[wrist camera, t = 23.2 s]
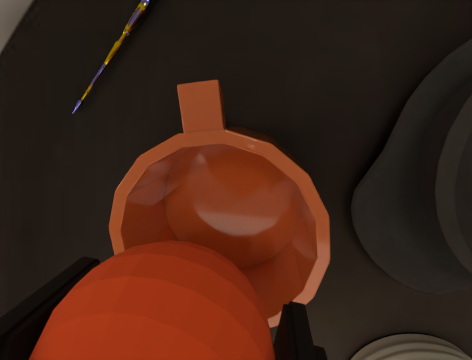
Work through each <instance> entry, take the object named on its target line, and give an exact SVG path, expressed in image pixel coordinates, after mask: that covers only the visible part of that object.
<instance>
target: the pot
mask: <svg viewBox="0 0 472 360" xmlns="http://www.w3.org/2000/svg"><path fill="white" fill-rule="evenodd" d="M177 90H178V97H179V103H180V110H181V117H182V124H183V131H184V133H179V134H176V135H174V136H173V137H171V138H169V139H167V140H166V141H164V142H162V143H160V144H159V145H157V146H155V147H154V148H152V149H150V150H148V151H147V152H145V153H143V154H142V155H140V156H139V157H138V158H137V160H136V161H135V163H134V164H133V166H132V167H131V168H130V170H129V171H128V173H127V174H126V176H125V177H124V178H123V180H122V181H121V183H120V184H119V186H118V187H117V189H116V190H115V195H114V201H113V206H112V212H111V218H110V223H109V232H110V237H111V241H112V245H113V250H114V254H115V255H116V254H119V253H121V252H123V251H125V250H127V249H129V248H131V247H133V246H139V245H144V244H150V243H156V242H162V241H168V240H172V241H183V242H192V243H195V244H198V245H201V246H204V247H207V248H209V249H212V250H214V251H216V252H217V253H219V254H220V255H222V256H223V257H225V258H227V259H228V260H230V261H231V262H232V263H233V264H234V265H235V266H236V267H237V268H238V269H239V270H240V271H241V272H242V273H243V274H244V275H245V276H246V277H247V279H248V280H249V282H250V284H251V285H252V287H253V288H254V290H255V292H256V294H257V295H258V297H259V299H260V301H261V303H262V304H263V306H264V308H265V310H266V314H267V319H268V323H269V327H270V328H272V327H275V326H278V324H279V320H280V316H281V312H282V308H283V305H284V304H288V303H289V301H293V302H298V303H302V304H304V305H306V304H307V303H308V302H309V301H310V300H311V299H313V298H314V296H315V294H316V292H317V289H318V287H319V285H320V283H321V280H322V278H323V276H324V274H325V271H326V269H327V267H328V265H329V262H330V258H331V257H330V218H329V214H328V212H327V210H326V208H325V206H324V204H323V202H322V200H321V198H320V196H319V194H318V192H317V190H316V188H315V186H314V184H313V182H312V180H311V178H310V176H309V175H308V173H307V172H306V171H305V170H304V168H303V167H302V166H301V164H300V163H299V162H298V161H297V159H296V158H295V157H294V156H293V155H292V154H290V153H289V152H288V151H287V150H286V149H284V148H283V147H282V146H281V145H280V144H279V143H277V142H276V141H275V140H274V139H273V138H271V137H270V136H268V135H265V134H261V133H258V132H256V131H252V130H248V129H245V128H242V127H238V126H235V127H226V124H225V115H224V106H223V97H222V88H221V82H220V81H219V80H217V79H216V80H209V81H201V82H193V83H186V84H178V85H177Z"/></svg>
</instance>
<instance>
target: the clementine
mask: <svg viewBox="0 0 472 360" xmlns="http://www.w3.org/2000/svg"><path fill="white" fill-rule="evenodd" d="M29 360H275V353H274V348H273V342H272V337H271V332H270V327H269V323H268V319H267V314H266V310H265V308H264V306H263V304H262V303H261V301H260V299H259V297H258V295H257V294H256V292H255V290H254V288H253V287H252V285H251V284H250V282H249V280H248V279H247V277H246V276H245V275H244V274H243V273H242V272H241V271H240V270H239V269H238V268H237V267H236V266H235V265H234V264H233V263H232V262H231V261H230V260H228V259H227V258H225V257H223V256H222V255H220V254H219V253H217V252H216V251H214V250H212V249H209V248H207V247H204V246H201V245H198V244H195V243H192V242H183V241H172V240H168V241H162V242H156V243H150V244H144V245H139V246H133V247H131V248H129V249H127V250H125V251H123V252H121V253H119V254H116V255H114V256H112V257H111V258H109V259H108V260H106V261H104V262H103V263H101V264H100V265H98V266H96V267H95V268H93V269H92V270H91V271H90V272H89V273H88V274H86V275H85V276H84V277H83V278H82V279H81V280H80V281H79V282H78V283H77V284H76V285H75V286H74V287H73V288H72V289H71V290H70V291H69V293H68V294H67V295H66V296H65V297H64V298H63V299H62V301H61V302H60V303H59V304H58V305H57V306H56V307H55V309H54V310H53V312H52V314H51V316H50V318H49V320H48V322H47V324H46V326H45V328H44V330H43V332H42V334H41V336H40V338H39V340H38V342H37V344H36V346H35V348H34V350H33V352H32V354H31V356H30V358H29Z"/></svg>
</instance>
